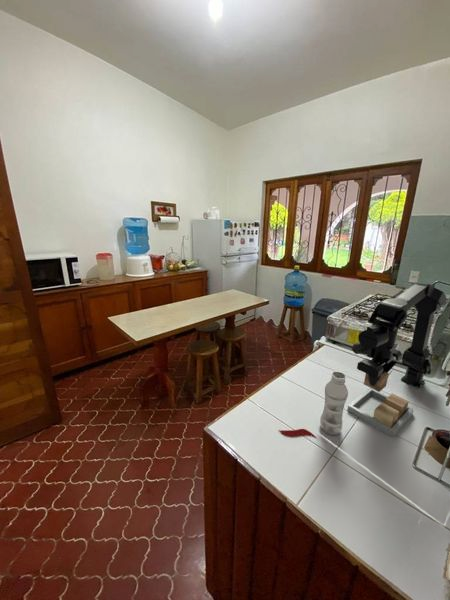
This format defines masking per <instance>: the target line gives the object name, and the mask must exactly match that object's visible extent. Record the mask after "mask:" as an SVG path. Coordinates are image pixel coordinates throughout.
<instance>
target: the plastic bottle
mask: <svg viewBox="0 0 450 600" xmlns="http://www.w3.org/2000/svg"><path fill="white" fill-rule="evenodd" d="M330 379H331V380H329V381H328V382H327V383H326V384H325V387H324V405H323V410H322V413H321V416H320V419H319V420H320V421H319V425H320V427H321V429H322V431H324V433H326V434H328V435H331V436H336V435H339V434H340V433H341V431H343V430H342V429H343V412H344V409H345V408H344V407H345V404H346V402H347V399H348V395H349V390H348V388H347V386H346V384H345V383H346V375H345V374H344V373H343V372H341V371H332V374H331V377H330Z"/></svg>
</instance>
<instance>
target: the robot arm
mask: <svg viewBox="0 0 450 600" xmlns="http://www.w3.org/2000/svg"><path fill="white" fill-rule="evenodd" d="M446 299H447V296H446V293H444V291H442V290H441V289H438V288H436V287H435V286H434V285H433V284H432V283H425V282H419V281H417V282H416V281H414V283H413V284H412V285H411V286H410V287H409V288H407V289H406V290H405V291H403V292H402V293H400V294H399V295H398V296H397V297H394V298H386V299H384V300H382V301H380V302H379V303H378V304H377V305H376V306H375V308H374V309H373V312H372V313H371V315H370V317H369V319H368V320H367V323H368V324H372V325H369V326H366V329H365V330H362V331H360V332H359V334H358V337H357V338H358V341H357V342H355V343H353V344H352V348H351V350H352V353H354V354H355V355H366V357H368V358H364V359H362V360H360V361H359V362H357V365H356V369H357V370H358V371H360V372H363V373H365V374H366V373H367V374H368V377H369V382H370V385H372V386H374V385H375V384H376V383H377V381H378V380H379V379H380V378H381V377H382V375H383V374H384V373H385V372H387V373H389V372H390V371H391V370H392V369H393V368H394V367H395V366H396V365H397V364H398V363H397V362H400V360H401V365H402V366H405V367H406V370H405V374H404V375H403V376H402V377H401V378H400V380H401V381H403V382H405V383H407V384H409V385H412V386H414V387H416V388H418V389H419V388H421V387H422V386H423V384H424V383H425V382H426V381H425V380H424V376H426V375H431V374H432V371H433V367H434V366H433V363H432V361H431V355H432V354H431V353H430V351H429V349H428V344H429V339H430V335H431V331H432V330H431V329H432V325H433V322H434V316H435V313H436V312H438V311H439V310H440V309H441V308H443V305H444V304H445V302H446ZM413 307H414V309H415V310H416V311H417V312H416V313H417V315H416V320H415V324H414V325H415V326H414V330H413V336H412V338H411V339H412V340H411V345H410V346H409V347H408V348H407V349H406V350H405V351H403V353H402V352H401V350H398V349H397V347H398V345H397V344H396V340H397V339H398V338H397V337H398V332H399V329H401V327H402V326H403V324H404V323H405V321H406V319H407V318H408V311H409V310H410V309H411V308H413ZM369 358H370V359H369ZM394 359H395V361H394Z"/></svg>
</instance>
